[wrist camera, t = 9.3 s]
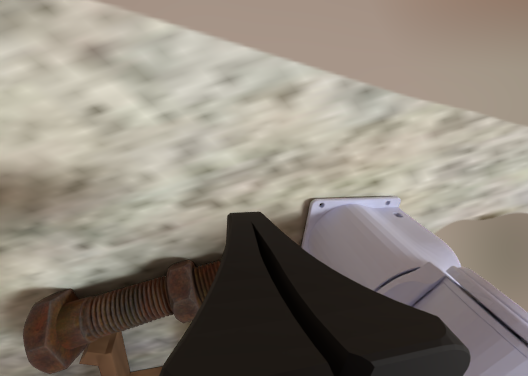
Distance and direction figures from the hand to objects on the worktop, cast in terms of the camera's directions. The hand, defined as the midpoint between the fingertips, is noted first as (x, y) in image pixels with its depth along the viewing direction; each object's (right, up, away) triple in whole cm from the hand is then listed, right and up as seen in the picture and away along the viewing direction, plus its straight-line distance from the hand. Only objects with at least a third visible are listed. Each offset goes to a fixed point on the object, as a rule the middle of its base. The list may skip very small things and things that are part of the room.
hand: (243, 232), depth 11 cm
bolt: (-9, -6, +13) cm, 17 cm away
